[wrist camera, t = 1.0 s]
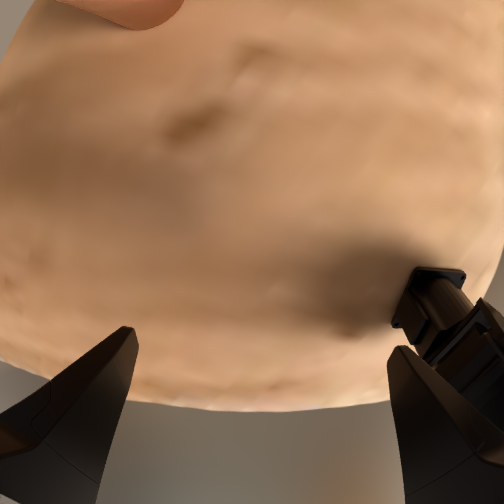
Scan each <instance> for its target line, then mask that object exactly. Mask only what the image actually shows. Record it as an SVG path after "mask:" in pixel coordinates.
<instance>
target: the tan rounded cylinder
mask: <svg viewBox="0 0 504 504" xmlns="http://www.w3.org/2000/svg"><path fill="white" fill-rule="evenodd" d="M56 1H59V2H63V3H66V4H69V5H72V6H74V7H77V8H80V9H83V10H85V11H88V12H91V13H93V14H96V15H98V16H101V17H103V18H106V19H108V20H110V21H113V22H115V23H117V24H119V25H122V26H124V27H126V28H129V29H133V30H145V29H149V28H153V27H155V26H158V25H160V24H162V23H163V22H165V21H167V20H168V19H169V18H171V17H172V16H173V15H174V14H175V13H176V12H177V11H178V10H179V8H180V7H181V5H182V4H183V2H184V0H56Z"/></svg>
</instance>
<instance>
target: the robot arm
mask: <svg viewBox="0 0 504 504" xmlns="http://www.w3.org/2000/svg"><path fill="white" fill-rule="evenodd" d="M418 272H419V274H417V273H418ZM465 279H466V274H465V272H464V271H457V270H446V269H435V268H424V267H417V268H415V269H414V270H413V272H412V274H411V277H410V279H409V282H408V284H407V287H406V289H405V291H404V293H403V296H402V298H401V300H400V303H399V305H398V307H397V309H396V312H395V314H394V316H393V319H392V321H391V326H392V327H393V328H403V330H404V332H405V335H406V337H407V339H408V341H409V343H410V345H414V347H415V349H416V351H417V353H418V355H419V356H418V355H417V354H416V353H415V352H414V351H413V350H411V349H410V348H409V347H408V346H406V345H400V346H396V347H395V348H394V350H393V352H392V354H391V355H390V357H389V359H388V361H387V373H388V382H389V391H390V400H391V406H392V412H393V417H394V422H395V427H396V433H397V439H398V446H399V452H400V458H401V466H402V473H403V483H404V493H405V504H504V317H503V316H502V314H501V313H500V312H499V311H497V310H496V309H495V308H494V307H492V306H491V305H490V304H489V303H488V302H486V301H485V300H484V299H483V298H481V297H480V298H479V299H478V301H477V302H476V303H477V304H476V305H475V306H473V304H472V303H471V302H470V300H469V299H468V298H467V297H466V295H465V294H464V293H463V291H462V290H461V288H462V286H463V284H464V281H465ZM138 350H139V344H138V340H137V336H136V333H135V330H134V328H132V327H127V326H122V327H120V328H119V329H118V330H116V331H115V332H113V333H112V334H111V335H109V336H108V337H107V338H105V339H104V340H103V341H101V342H100V343H99V344H97V345H96V346H95V347H93V348H92V349H91V350H89V351H88V352H87V353H85V354H84V355H83V356H81V357H80V358H79V359H78V360H76V361H75V362H74V363H72V364H71V365H70V366H68V367H67V368H66V369H64V370H63V371H62V372H60V373H59V374H58V375H57V376H55V377H54V378H53V379H51V381H49V382H47V383H46V384H45V385H44V386H42V387H41V388H39V389H38V390H37V391H35V392H34V393H32V394H31V395H30V396H28V397H26V398H25V399H23V400H22V401H20V402H19V403H17V404H15V405H14V406H12V407H10V408H9V409H7V410H6V411H4V412H2V413H1V414H0V504H95V503H96V499H97V495H98V490H99V487H100V485H99V484H100V482H101V479H102V475H103V471H104V468H105V464H106V460H107V457H108V454H109V450H110V447H111V444H112V440H113V437H114V434H115V431H116V427H117V424H118V421H119V418H120V415H121V412H122V409H123V406H124V403H125V400H126V397H127V394H128V391H129V388H130V384H131V380H132V376H133V371H134V367H135V363H136V358H137V354H138Z"/></svg>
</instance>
